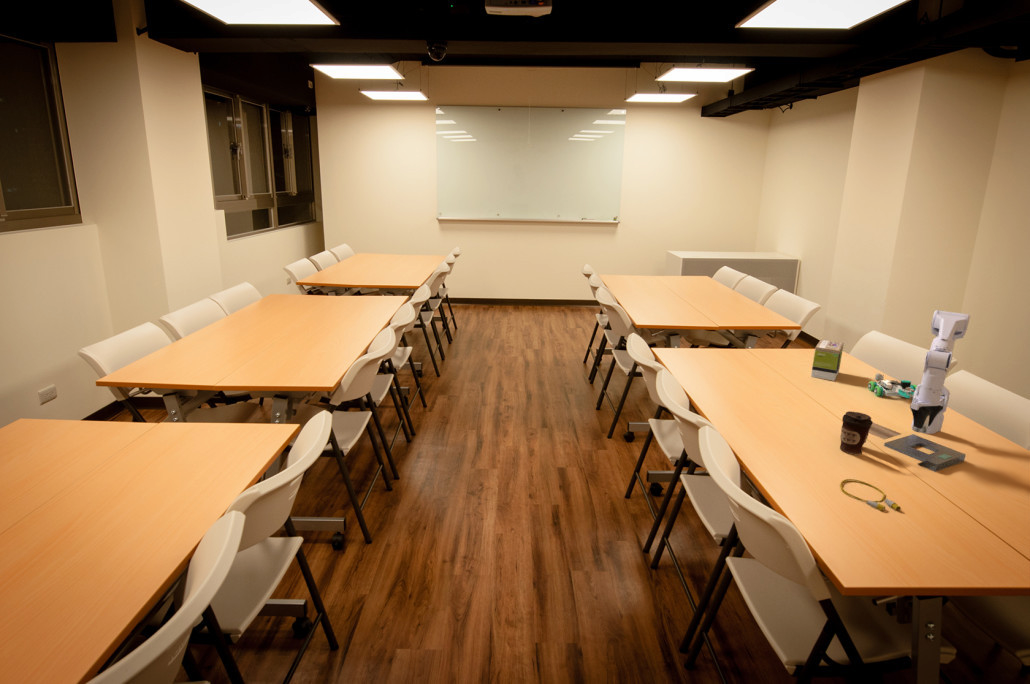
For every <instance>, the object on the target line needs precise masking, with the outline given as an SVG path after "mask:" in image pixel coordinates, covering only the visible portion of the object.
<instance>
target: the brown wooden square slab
mask: <svg viewBox="0 0 1030 684" xmlns="http://www.w3.org/2000/svg"><path fill="white" fill-rule="evenodd" d="M868 434H870V435H872V436H876V437H878V438H880V439H883V440H887V439H889V438H893V437H896V436H900V435H902V433H901V432H898V431H895V430H893V429H890V428H888V427H886V426H883V425H880V424H878V423H875V422H873V423H872V425H871V428H870V429H869V433H868Z"/></svg>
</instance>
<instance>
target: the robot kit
mask: <svg viewBox="0 0 1030 684" xmlns="http://www.w3.org/2000/svg"><path fill="white" fill-rule="evenodd" d="M884 377H885V376H884V374H882V373H880V372H879V373H878V372H877V373H876V374H875V376H874V380H876V381H872V380H871V381H869V382H868V385H867V386H868V387H867V388H868V390H869V391H870V392H873V394H874V396H875V397H882V396H883V395H884V396H886V397H888V396H890V397H901V398H906V399H913V396H914V393H915V390H916V387H917V386H918V385H917V384H912V381H911V380H906V379H905V380H903V379H902V380H900V382H899V381H898V380H895V379H894V380H890V379H886V380H884V379H885V378H884Z"/></svg>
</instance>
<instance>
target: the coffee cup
mask: <svg viewBox="0 0 1030 684" xmlns="http://www.w3.org/2000/svg"><path fill="white" fill-rule="evenodd" d="M872 423H874V421H872V417H871V416H870V415H868V414H867V413H863V412H857V411H846V412H845V414H844V415H843V416H842V425H841V430H840V431H841V432H840V445H839V449H840V450H841V451H842V452H844V453H847V454H850V455H855V456H860V455H862V454H863V451H862V449H863V446H864V444H865V443H867V440H868V437H869V434H870V433H869V429H870V428H871V425H872Z"/></svg>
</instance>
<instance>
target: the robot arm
mask: <svg viewBox="0 0 1030 684" xmlns="http://www.w3.org/2000/svg"><path fill="white" fill-rule="evenodd" d="M970 319H971V315H970V313H962V312H956V311H955V312H953V311H944V310H939V309H936V310H935V311H934V312H933V315H932V320H931V329H930V332H931V334H932V335H934V336H935V337H934V338H933V339H932V342H931V344H930V348H929V351H927V352H926V353H925V354H926V355H925V357H924V362H923V371H922V372H923V374H922V379H921V382H920V383H919V384H918V385H917V387H916V390H915V393H914V396H913V398H912V400H911V404H909V405H910V406H909V408H910V411H911V414H912V422H911V426H910V428H911V429H912V427H913V421H914V427H917V428H920V429H921V428H922V427H923V425H924V423H925V420H926V418H927V417H928V415H929V414H930V418H929V423H928V429H927V433H925V434H926V435H934V434H936V433H937V432H942V428H943V423H944V421H945V420H944V419H945V415H944V413H946V411H947V407H948V404H949V399H950V394H951V392H950V390H949V389H948V388H947V387H946V386H944V385H945V381H946V376H947V373H948V371H949V370H950V367H951V365H952V361H953V360H952V359H953V352H954V348H955V342H956V341H957V340H959V339H963V338H964V336H965V335H966V332H967V331H968V326H969V322H970Z"/></svg>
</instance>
